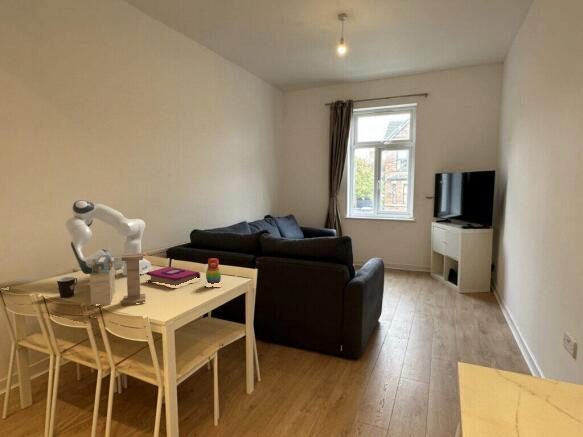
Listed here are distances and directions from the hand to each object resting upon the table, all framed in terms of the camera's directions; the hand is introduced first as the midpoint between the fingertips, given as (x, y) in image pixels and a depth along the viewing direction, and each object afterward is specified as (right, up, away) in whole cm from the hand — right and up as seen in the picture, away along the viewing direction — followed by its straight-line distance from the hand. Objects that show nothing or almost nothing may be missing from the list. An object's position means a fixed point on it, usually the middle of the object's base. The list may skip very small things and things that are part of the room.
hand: (104, 258), depth 195 cm
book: (+30, -20, +27) cm, 45 cm away
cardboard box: (+4, -22, -7) cm, 23 cm away
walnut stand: (+22, -23, -11) cm, 34 cm away
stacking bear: (+59, -20, +20) cm, 65 cm away
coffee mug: (-18, -21, -2) cm, 28 cm away
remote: (+3, -3, -7) cm, 8 cm away
